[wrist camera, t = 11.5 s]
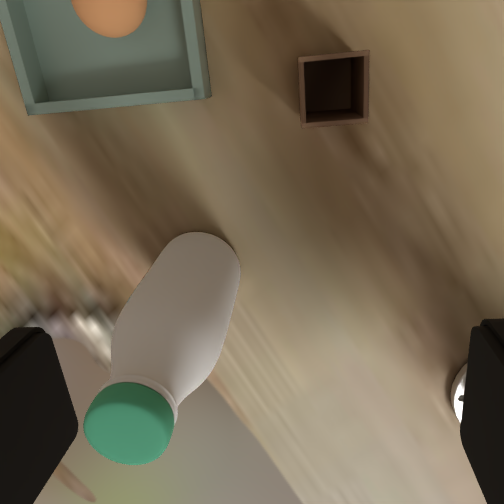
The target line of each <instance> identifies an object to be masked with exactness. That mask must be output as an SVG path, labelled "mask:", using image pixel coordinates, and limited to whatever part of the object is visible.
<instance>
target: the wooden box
mask: <svg viewBox="0 0 504 504" xmlns="http://www.w3.org/2000/svg"><path fill="white" fill-rule="evenodd" d="M298 79H299V101H300V119H301V128H313V127H325V126H337V125H349V124H361V123H368V112H369V50H362V51H353V52H343V53H333V54H324V55H314V56H304V57H298Z"/></svg>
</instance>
